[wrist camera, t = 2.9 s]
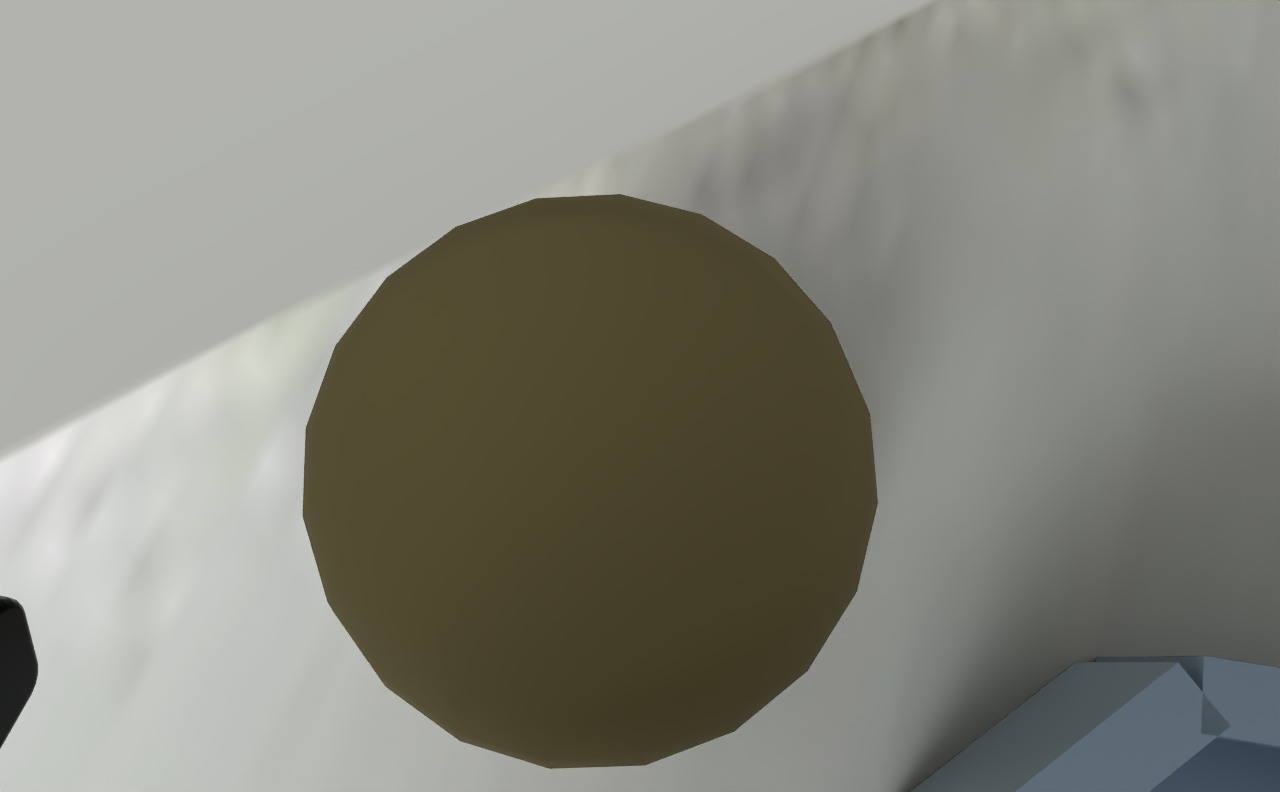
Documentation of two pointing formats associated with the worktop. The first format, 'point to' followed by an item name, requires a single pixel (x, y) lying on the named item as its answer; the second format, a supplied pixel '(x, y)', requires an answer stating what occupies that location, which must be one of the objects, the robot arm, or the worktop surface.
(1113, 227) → the worktop surface
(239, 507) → the worktop surface
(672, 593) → the cork
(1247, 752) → the bowl
